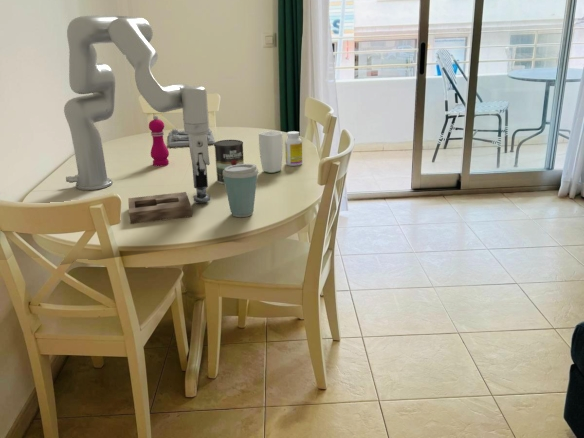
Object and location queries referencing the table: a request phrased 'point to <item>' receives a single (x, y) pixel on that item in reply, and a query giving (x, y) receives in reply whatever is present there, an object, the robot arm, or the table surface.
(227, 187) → the disposable coffee cup
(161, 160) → the pepper mill
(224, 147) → the coffee can
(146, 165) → the table surface
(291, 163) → the supplement bottle
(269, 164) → the cup
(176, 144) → the grey piece
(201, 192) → the peg
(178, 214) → the keyhole plate
